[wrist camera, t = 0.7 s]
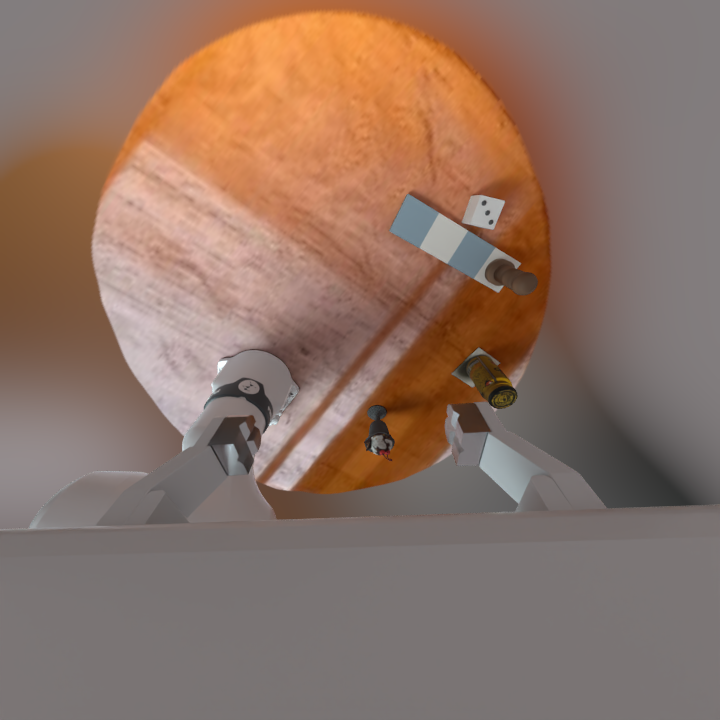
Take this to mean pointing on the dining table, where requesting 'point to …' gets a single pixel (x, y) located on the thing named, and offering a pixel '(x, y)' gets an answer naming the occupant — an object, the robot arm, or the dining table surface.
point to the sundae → (379, 433)
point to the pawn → (510, 277)
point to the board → (446, 240)
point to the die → (483, 211)
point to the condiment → (487, 379)
